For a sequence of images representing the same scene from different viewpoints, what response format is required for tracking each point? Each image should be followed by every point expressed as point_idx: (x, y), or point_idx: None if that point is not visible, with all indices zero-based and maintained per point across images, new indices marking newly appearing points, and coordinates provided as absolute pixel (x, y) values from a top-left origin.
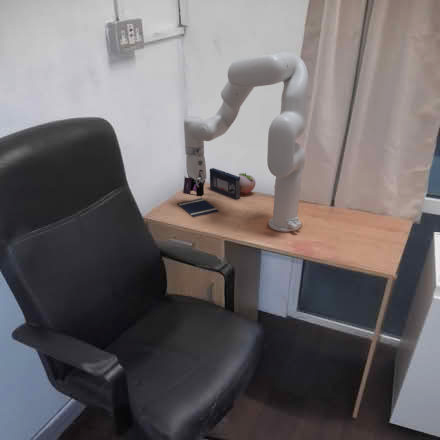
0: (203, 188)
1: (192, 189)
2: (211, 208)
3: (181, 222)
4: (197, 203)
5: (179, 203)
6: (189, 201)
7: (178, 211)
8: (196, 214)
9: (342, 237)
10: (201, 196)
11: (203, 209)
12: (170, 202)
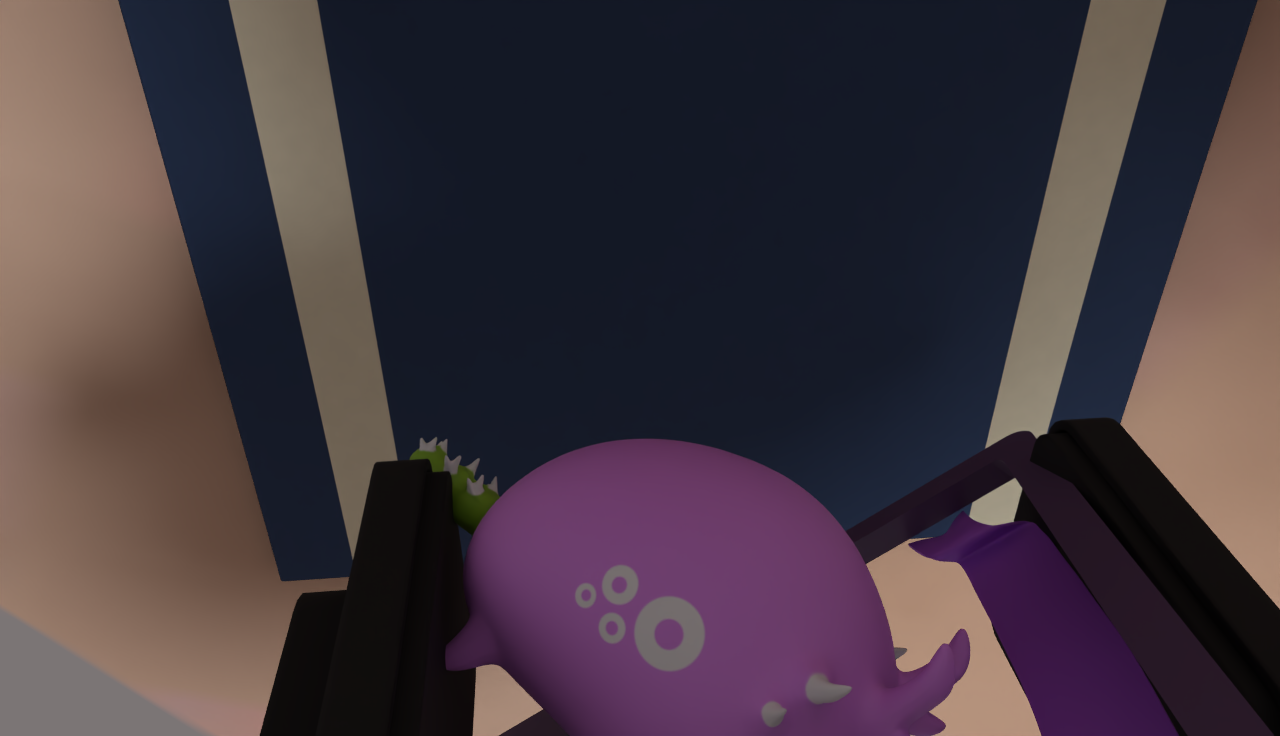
0: (1270, 611)
1: None
2: (1042, 2)
3: None
4: (492, 206)
5: (307, 556)
6: (262, 337)
7: None
8: None
9: None
10: (1029, 447)
11: (950, 227)
12: (129, 649)
